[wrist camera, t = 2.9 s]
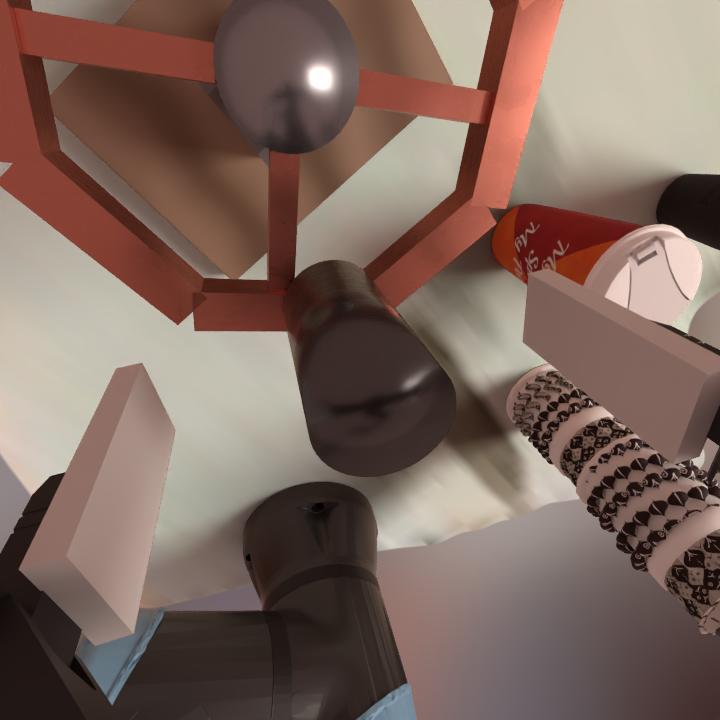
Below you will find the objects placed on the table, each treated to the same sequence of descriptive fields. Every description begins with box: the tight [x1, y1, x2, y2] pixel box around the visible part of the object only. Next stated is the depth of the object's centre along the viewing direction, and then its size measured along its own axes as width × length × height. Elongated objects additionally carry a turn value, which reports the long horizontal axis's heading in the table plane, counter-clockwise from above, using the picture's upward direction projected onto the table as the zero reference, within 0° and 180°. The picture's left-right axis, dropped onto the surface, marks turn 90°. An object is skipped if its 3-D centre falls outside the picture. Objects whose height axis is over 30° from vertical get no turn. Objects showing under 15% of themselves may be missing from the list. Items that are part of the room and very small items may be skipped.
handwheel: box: [0, 0, 564, 477], centre depth 13 cm, size 18×18×15 cm
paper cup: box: [492, 204, 702, 325], centre depth 31 cm, size 8×8×14 cm
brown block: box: [50, 0, 453, 279], centre depth 23 cm, size 20×14×10 cm
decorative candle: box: [506, 364, 720, 636], centre depth 37 cm, size 9×9×25 cm
